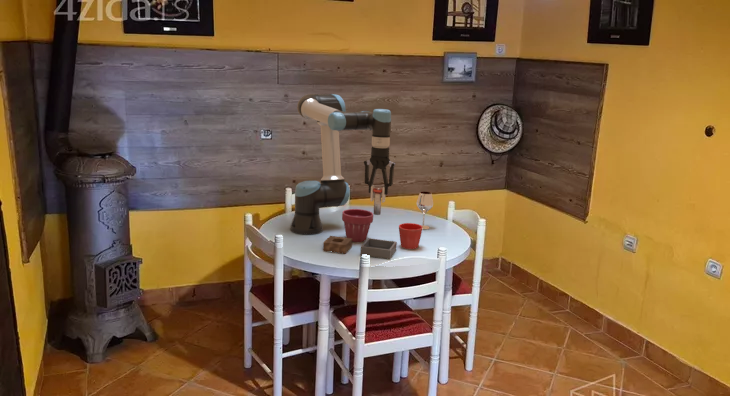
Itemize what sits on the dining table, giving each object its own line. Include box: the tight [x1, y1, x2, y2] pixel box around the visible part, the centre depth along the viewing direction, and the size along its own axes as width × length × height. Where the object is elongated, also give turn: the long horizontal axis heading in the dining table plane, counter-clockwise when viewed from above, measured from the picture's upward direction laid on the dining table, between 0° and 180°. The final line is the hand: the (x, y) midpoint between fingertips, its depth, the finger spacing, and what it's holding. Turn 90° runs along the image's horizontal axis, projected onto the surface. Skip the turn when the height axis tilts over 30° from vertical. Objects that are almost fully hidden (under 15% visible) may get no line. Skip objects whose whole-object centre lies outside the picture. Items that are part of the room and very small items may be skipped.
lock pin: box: [373, 187, 383, 216], centre depth 258 cm, size 4×4×11 cm
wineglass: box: [416, 191, 434, 230], centre depth 304 cm, size 8×8×18 cm
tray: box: [359, 237, 398, 260], centre depth 264 cm, size 13×13×4 cm
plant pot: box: [341, 208, 374, 243], centre depth 280 cm, size 14×14×13 cm
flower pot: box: [398, 222, 423, 250], centre depth 274 cm, size 11×11×10 cm
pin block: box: [322, 235, 353, 255], centre depth 266 cm, size 10×10×4 cm
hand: (377, 201), depth 259 cm, fingers closed on lock pin, 4 cm apart
